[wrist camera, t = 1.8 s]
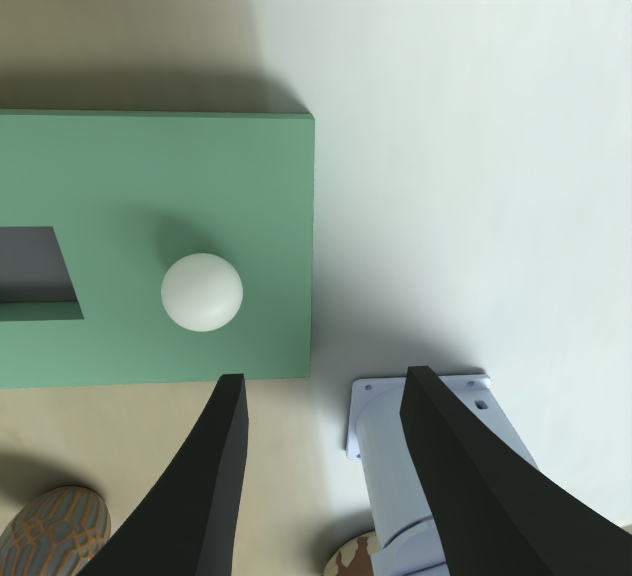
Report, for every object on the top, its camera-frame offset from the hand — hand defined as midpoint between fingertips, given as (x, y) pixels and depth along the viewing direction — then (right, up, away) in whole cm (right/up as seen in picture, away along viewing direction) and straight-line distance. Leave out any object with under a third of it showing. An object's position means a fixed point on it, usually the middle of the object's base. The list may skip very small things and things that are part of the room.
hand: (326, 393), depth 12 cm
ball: (-5, +4, +7) cm, 10 cm away
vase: (-19, -13, +18) cm, 30 cm away
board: (-10, +5, +8) cm, 14 cm away
